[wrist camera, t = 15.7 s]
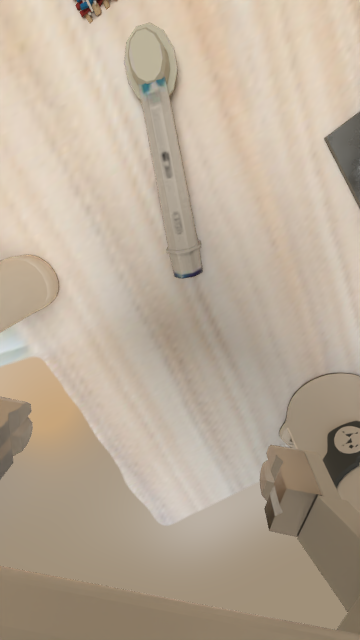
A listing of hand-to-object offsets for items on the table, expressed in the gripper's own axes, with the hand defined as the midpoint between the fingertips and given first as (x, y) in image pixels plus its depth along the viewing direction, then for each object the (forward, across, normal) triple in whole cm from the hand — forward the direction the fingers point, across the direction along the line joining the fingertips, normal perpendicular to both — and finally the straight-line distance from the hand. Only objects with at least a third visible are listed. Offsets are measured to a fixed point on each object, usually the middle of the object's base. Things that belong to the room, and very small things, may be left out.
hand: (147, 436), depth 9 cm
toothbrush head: (+32, +4, -11) cm, 34 cm away
